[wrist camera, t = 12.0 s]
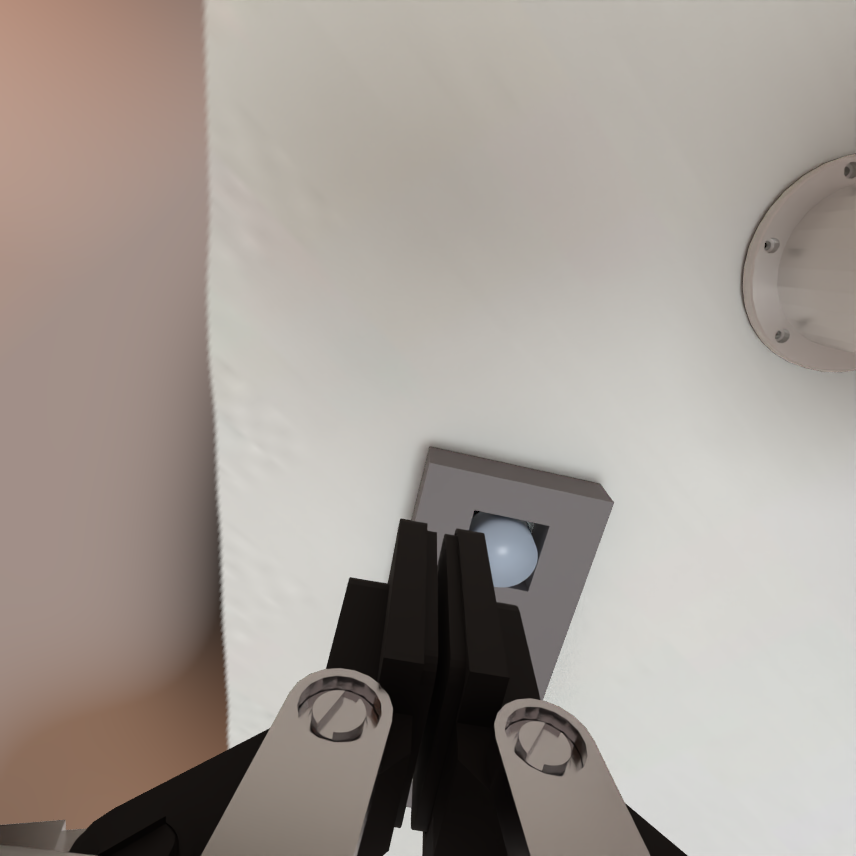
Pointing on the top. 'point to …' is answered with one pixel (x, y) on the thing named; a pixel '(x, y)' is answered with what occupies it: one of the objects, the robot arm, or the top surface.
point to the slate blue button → (507, 547)
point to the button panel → (553, 535)
